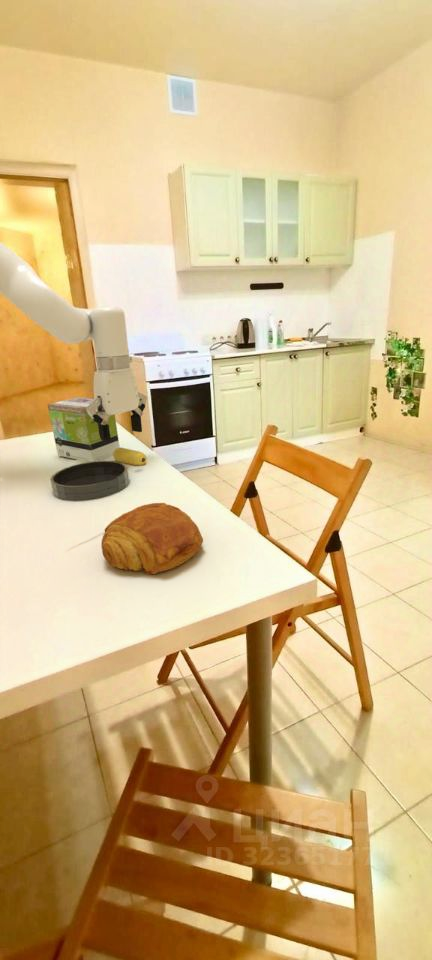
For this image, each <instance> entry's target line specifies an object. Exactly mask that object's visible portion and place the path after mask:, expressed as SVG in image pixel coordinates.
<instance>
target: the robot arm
mask: <svg viewBox="0 0 432 960" xmlns="http://www.w3.org/2000/svg"><path fill="white" fill-rule="evenodd" d="M0 294H1V295H2V296H3V297H4V298H5V299H6V300H8V302H10V303H11V305H14V306H15V307H16V308H17V309H18V310H20V312H22V313H23V314H24V315H25V316H27V317H28V318H29V319H30V320H32V321H33V322H34V323H35V324H37V325H38V326H39V327H41V328H42V329H43V330H45V332H47V333H48V334H49V335H51V336H52V337H54V338H55V339H57V340H58V341H59V342H62V343H64V344H68V345H76V344H80V343H82V342H87V341H93V346H94V347H93V348H94V354H95V360H96V362H95V363H96V369H97V370H96V371H94V373H93V374H94V375H93V399H94V401H93V402H92V403H91V404H90V405H89V406H87V407H86V411H87V413H88V414H89V416H90V418H91V419H92V420H94V421H95V423H96V424H98V428H99V435H100V439H101V440H104V441H110V440H111V437H110V430H109V425H108V424H106V423H107V421H108V419H109V417H110V415H115V416H116V415H119V414H123V413H128V412H130V413H131V414H130V425H131V431H132V432H135V433H142V432H143V424H142V416H143V415H144V413H143V412H144V410H145V409H146V403H147V400H148V396H147V395H145V394H143V393H141V392H138V385H137V381H136V377H135V373H134V370H133V368H131V363H132V362H133V357H131V356H130V353H129V352H130V351H129V343H128V334H127V333H128V332H127V325H126V315H125V311H124V309H123V308H122V307H119V306H98V307H94V308H81V307H75V306H74V305H72V303H70V302H68V301H67V300H66V299H65V298H63V296H61V295H60V294H59V293H57V292H56V291H55V290H53V289H52V288H51V287H50V286H49V285H48V284H46V282H44V280H42V279H41V277H39V275H38V274H37V273H36V272H35V269H34V268H33V267H32V266H31V265H30V264H29V263H28V262H26V260H24V259H23V258H22V257H20V256H19V255H18V254H17V253H15V252H14V251H13V250H11V248H9V247H8V246H7V245H5V244H4V243H3V242H2V241H0ZM95 410H96V412H97V413H99V414H98V415H97V414H96V412H95Z"/></svg>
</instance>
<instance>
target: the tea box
mask: <svg viewBox="0 0 432 960" xmlns="http://www.w3.org/2000/svg"><path fill="white" fill-rule="evenodd" d="M93 401H94V398H87V397H78V396H75V397H72V398H68V399H63V400H60V401H56V402H53V403H47V410H48V415H49V419H50V424H51V428H52V433H53V438H54V443H55V447H56V452H57V456H58V457H63V458H64V457H65V458H68V459H73V460H78V461H84V462H87V463H88V462H96V461H101V460H102V459H105V458H108V457H110V456H113V452H114V450H115V449H117V448H121V447H120V442H119V441H120V440H119V434H118V428H117V419H116V414H115V415H110V417H109V419H108V421H107V423H106V424H108V425H109V430H110V437H111V440H110V441H104V440H101V439H100V435H99V428H98V424H96V423H95V421H94V420H92V419H91V418H90V416H89V414H88V413H87V411H86V407H87V406H89V405H90V404H91V403H92V402H93ZM95 412H96V410H95ZM96 414H97V415H98V414H99V413H97V412H96Z"/></svg>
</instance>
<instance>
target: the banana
mask: <svg viewBox="0 0 432 960" xmlns="http://www.w3.org/2000/svg"><path fill="white" fill-rule="evenodd" d="M112 456H113V457H112V458H114V460H115V462H120V463H123V464H129V465H132V466H138V467H139V466H143V465H145V464H146V462H147V456H146V454H145V453H144V452H143V451H139V450H135V449H130V448H125V447H120V448H117V449H115V450H114V452H113V455H112Z"/></svg>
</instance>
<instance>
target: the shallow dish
mask: <svg viewBox="0 0 432 960" xmlns="http://www.w3.org/2000/svg"><path fill="white" fill-rule="evenodd" d="M49 481H50V485H51V490H52V494H53V496H54V497H55V498H57V499H60V500H62V501H68V502H71V501H72V502H81V501H82V502H83V501H90V500H97V499H102V498H106V497H109V496H112V495H114V494H117V493H120V492H121V491H123V490H124V489H125V488H127V487H128V486H129V484H130V481H131V480H130V473H129V467H128V466H127V465H126V463H124V462H120V461H114V460H98V461H95V462H88V461H87V462H82V463H78V464H74V465H70V466H67V467H65V468H63V469H61V470H58V471H56V472H55V473H53V474H52V475H51V477H50V479H49Z"/></svg>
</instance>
